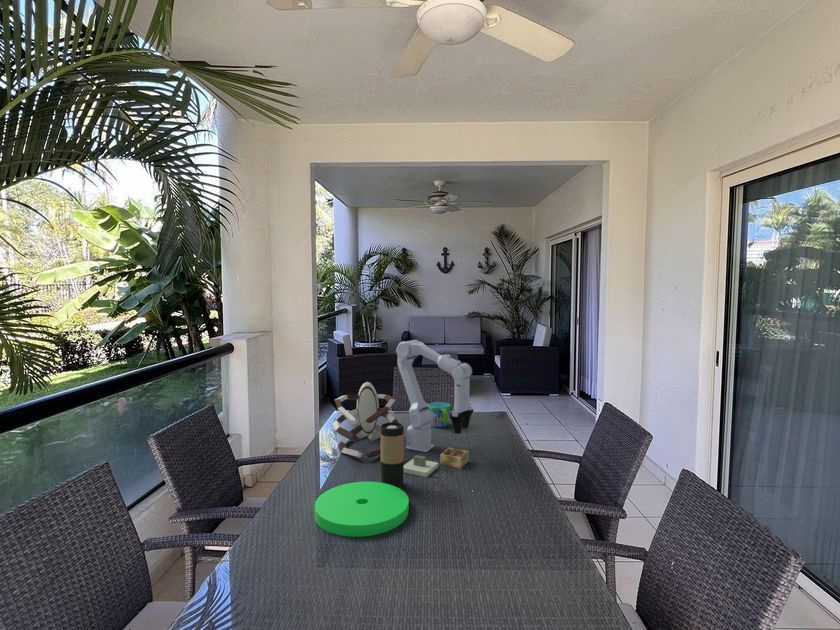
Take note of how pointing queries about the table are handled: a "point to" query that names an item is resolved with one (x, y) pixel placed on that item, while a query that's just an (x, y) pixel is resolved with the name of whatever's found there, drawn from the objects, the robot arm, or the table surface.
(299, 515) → the table surface
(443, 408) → the snack cup
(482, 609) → the table surface
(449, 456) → the box
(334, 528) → the disc
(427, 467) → the lid
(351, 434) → the decorative sculpture
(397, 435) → the travel mug
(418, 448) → the robot arm
